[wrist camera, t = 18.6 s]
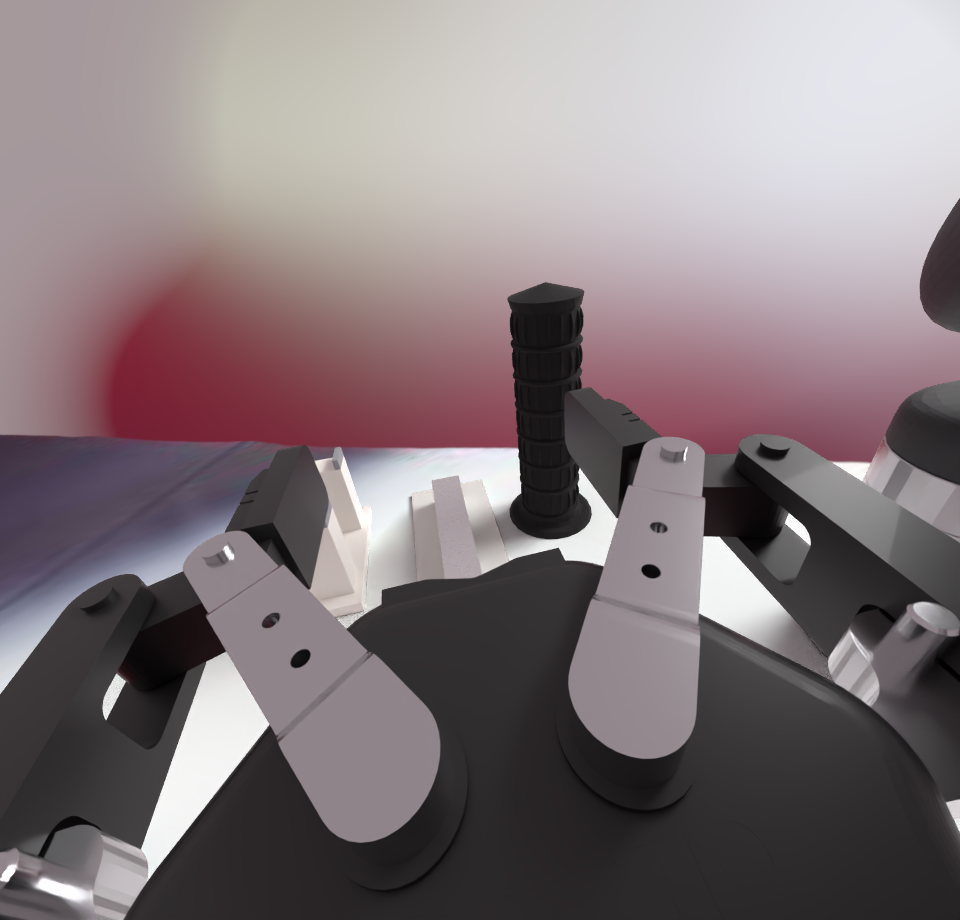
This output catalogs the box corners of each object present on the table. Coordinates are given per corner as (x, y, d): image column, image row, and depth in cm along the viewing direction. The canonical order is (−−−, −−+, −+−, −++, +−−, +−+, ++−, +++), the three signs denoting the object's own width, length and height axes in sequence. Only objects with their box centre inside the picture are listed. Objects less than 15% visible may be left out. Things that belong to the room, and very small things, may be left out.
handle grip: (559, 552, 44) (607, 506, 49) (557, 297, 30) (625, 273, 35) (493, 515, 50) (542, 478, 56) (467, 291, 36) (536, 272, 42)
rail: (436, 501, 53) (431, 480, 51) (462, 496, 53) (458, 475, 51) (460, 674, 33) (454, 649, 31) (501, 665, 33) (498, 639, 31)
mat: (482, 481, 56) (481, 479, 56) (544, 668, 33) (544, 665, 33) (412, 495, 56) (411, 493, 55) (425, 697, 32) (424, 695, 32)
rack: (372, 512, 53) (348, 439, 47) (364, 610, 40) (329, 526, 34) (319, 522, 53) (288, 450, 47) (292, 626, 39) (244, 543, 33)
